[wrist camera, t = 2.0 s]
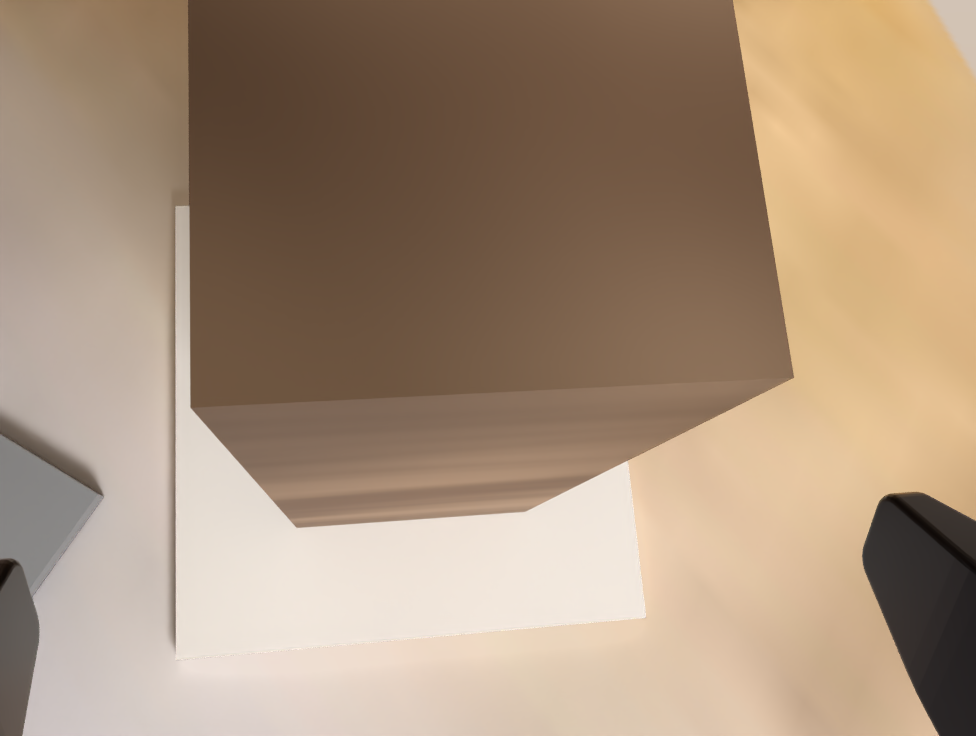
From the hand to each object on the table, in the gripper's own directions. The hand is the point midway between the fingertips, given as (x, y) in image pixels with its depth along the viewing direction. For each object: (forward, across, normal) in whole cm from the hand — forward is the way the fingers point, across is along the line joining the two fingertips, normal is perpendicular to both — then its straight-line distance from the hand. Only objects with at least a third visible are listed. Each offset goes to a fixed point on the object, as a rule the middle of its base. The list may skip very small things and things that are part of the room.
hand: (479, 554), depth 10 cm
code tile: (+10, 0, +5) cm, 12 cm away
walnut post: (+10, 0, +5) cm, 11 cm away
